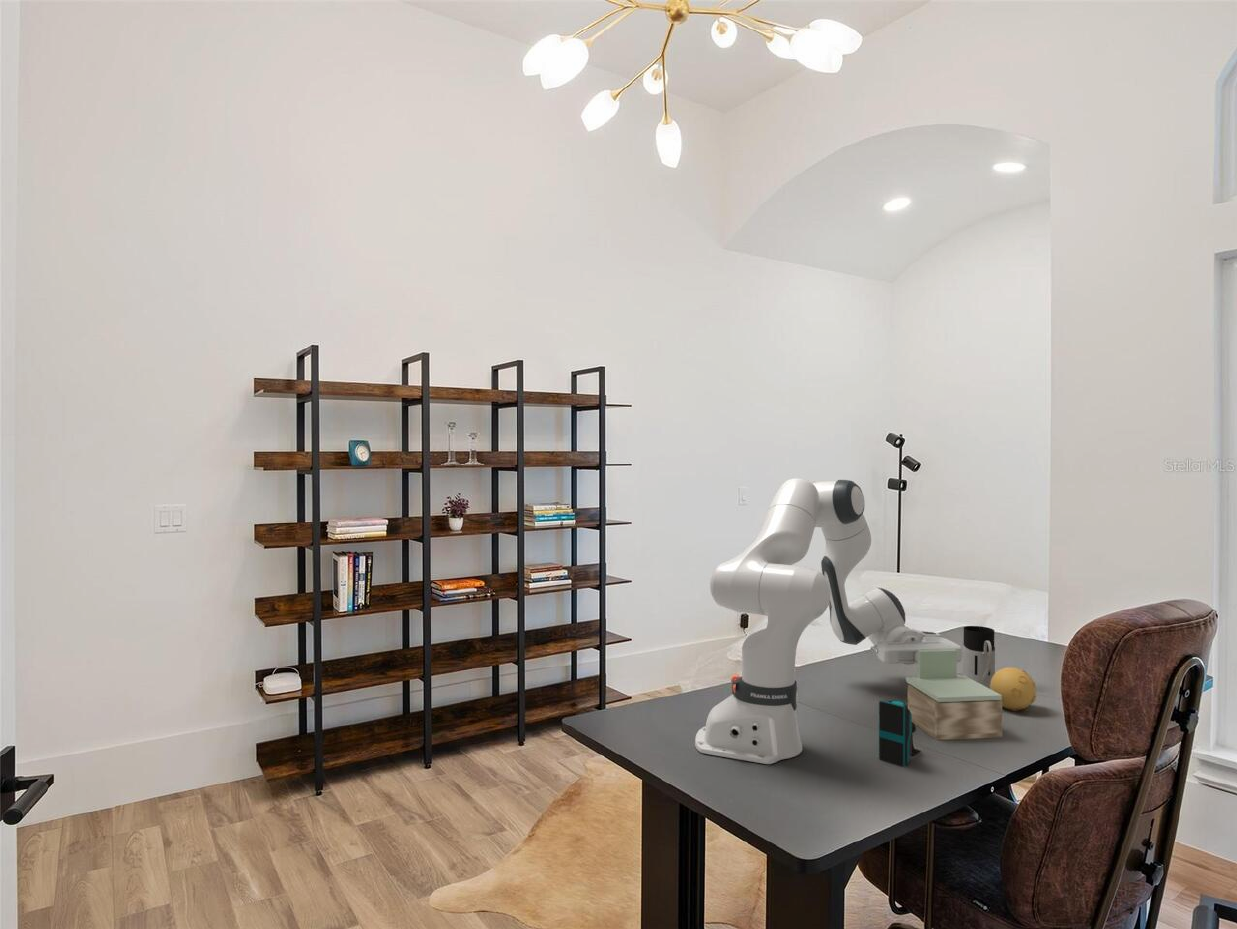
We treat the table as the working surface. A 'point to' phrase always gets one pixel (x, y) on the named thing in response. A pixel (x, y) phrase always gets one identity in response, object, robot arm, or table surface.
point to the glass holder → (979, 654)
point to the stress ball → (1014, 688)
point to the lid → (947, 679)
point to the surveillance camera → (896, 732)
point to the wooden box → (955, 717)
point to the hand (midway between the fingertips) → (935, 661)
